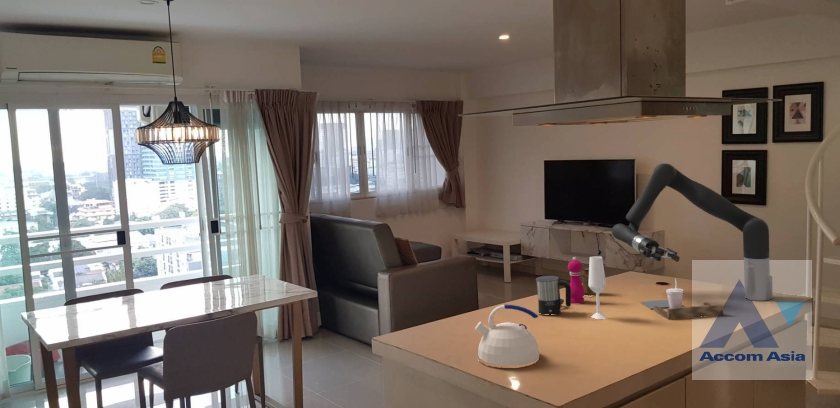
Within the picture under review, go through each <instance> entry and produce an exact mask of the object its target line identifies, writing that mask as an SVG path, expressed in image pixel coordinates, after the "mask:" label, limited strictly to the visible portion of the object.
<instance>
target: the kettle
mask: <svg viewBox="0 0 840 408" xmlns="http://www.w3.org/2000/svg"><path fill="white" fill-rule="evenodd" d="M505 309H506V310H515V311H520V312H523V313H525V314H527V315H529V316H531V317H532V318H533V319H537V318H539V315H538V313H535V312H534V311H532V310H530V309H528V308H526V307H523V306H519V305H514V304H502V305H497V306H496V307H495V308H494V309H492V311H491V312H490V314H489V315H488V319H487V320H488V326H487V325H485V324H484V323H483V322H482V321H479V322H478V323H477V324H476V326H475V327H474V330H475V331H476V332H478V333H479V334H480V335H481V339H480V341H479V345H478V350H477V352H478V353H477V354H478V355H477V357H478V356H479V358H480V359H482V360H483V361H485V362H488V363H493V364H499V365H523V364H528V363H531V362H534V361H536V360H537V359H538V358H539V355H541V354H540V349H539V348H540V347H539V344H538V342H537V340H536V337H535V336H534V335H533V334H532V332H531V331H529V329H528V327H527V326H526V325H525V324H522V323H520V324H518V323H513V322H509V321H507V322H500V323H496V324H495V322H494V318H495V315H496V314H497V313H499V311H501V310H505Z"/></svg>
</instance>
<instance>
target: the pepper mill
mask: <svg viewBox="0 0 840 408" xmlns="http://www.w3.org/2000/svg"><path fill="white" fill-rule="evenodd" d="M567 264H568V265H567V269H568V270H569V275H570V283H569V285H570V287H571V304H573V303H581V304H583V302H584V303H585V298H584V297H585V296H584V294H585V290H584V287H583V284H582V280H581V276H582V270H583V264H582V262H581V261H579V260H578V259H577V257H576V256H573V257H572V260H571V261H569V262H568V263H567Z"/></svg>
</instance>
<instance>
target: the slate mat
mask: <svg viewBox="0 0 840 408" xmlns="http://www.w3.org/2000/svg"><path fill="white" fill-rule="evenodd" d="M640 304H641V305H643V306H645V307H646V308H648V309H650V310H654V306H657V307H659V308H661V309H663V310H666V309H667V308H669V302H668V299H660V300H659V299H657V300H645V301H640Z"/></svg>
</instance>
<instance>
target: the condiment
mask: <svg viewBox="0 0 840 408" xmlns="http://www.w3.org/2000/svg"><path fill="white" fill-rule="evenodd" d="M581 278H582V280H581V283H582V285H583V287H584V290H585V294H584V295H588V296H586V297H585V298H592V297H596V293H595V292H593V291H592V290H591V289H590V287H589V285H588V283H589V267H584V268H583V267H582V274H581ZM600 294H601V292H600V293H599V295H600ZM589 295H590V296H589ZM591 295H594V296H591Z"/></svg>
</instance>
